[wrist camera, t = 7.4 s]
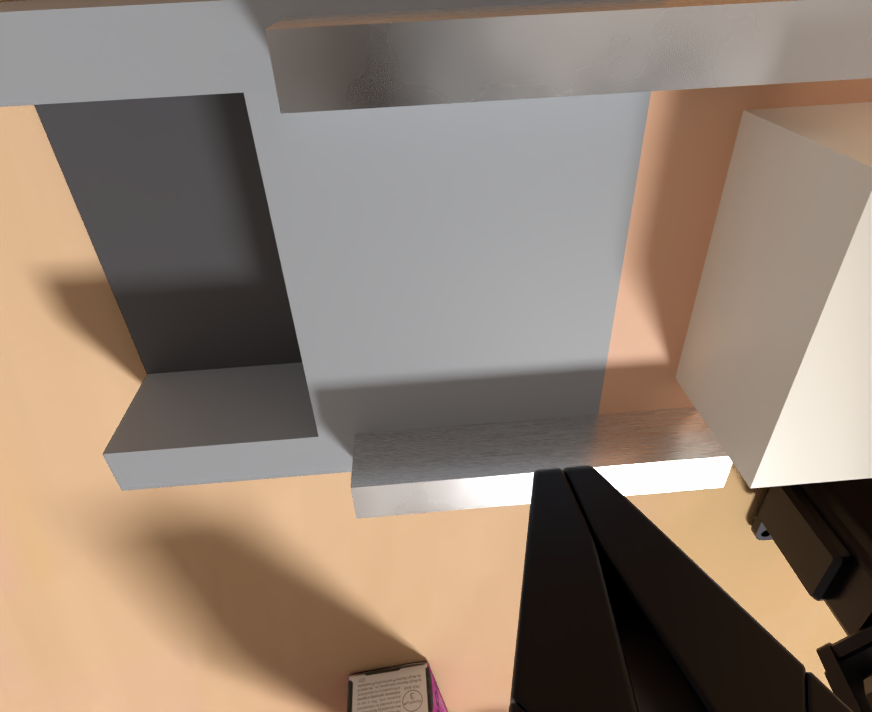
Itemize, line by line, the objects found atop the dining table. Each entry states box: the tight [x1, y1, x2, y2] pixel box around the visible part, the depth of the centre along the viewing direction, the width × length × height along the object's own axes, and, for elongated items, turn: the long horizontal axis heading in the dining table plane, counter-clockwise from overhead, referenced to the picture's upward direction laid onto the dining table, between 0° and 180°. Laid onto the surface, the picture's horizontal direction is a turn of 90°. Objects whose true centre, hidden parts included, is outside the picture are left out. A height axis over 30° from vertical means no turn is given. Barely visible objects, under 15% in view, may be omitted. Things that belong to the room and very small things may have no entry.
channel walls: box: [265, 0, 872, 518], centre depth 13 cm, size 10×11×2 cm
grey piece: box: [0, 0, 872, 491], centre depth 15 cm, size 22×12×4 cm, turn 92°
